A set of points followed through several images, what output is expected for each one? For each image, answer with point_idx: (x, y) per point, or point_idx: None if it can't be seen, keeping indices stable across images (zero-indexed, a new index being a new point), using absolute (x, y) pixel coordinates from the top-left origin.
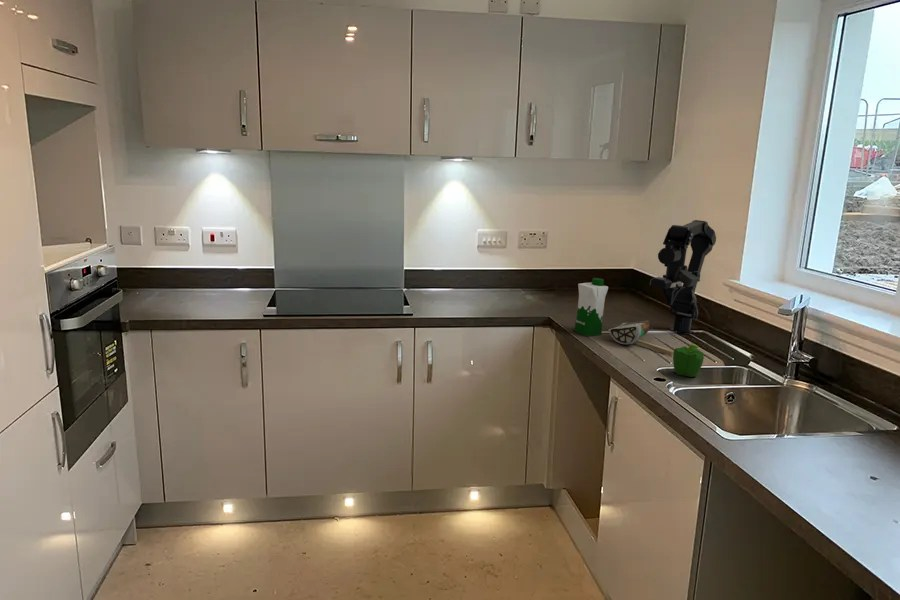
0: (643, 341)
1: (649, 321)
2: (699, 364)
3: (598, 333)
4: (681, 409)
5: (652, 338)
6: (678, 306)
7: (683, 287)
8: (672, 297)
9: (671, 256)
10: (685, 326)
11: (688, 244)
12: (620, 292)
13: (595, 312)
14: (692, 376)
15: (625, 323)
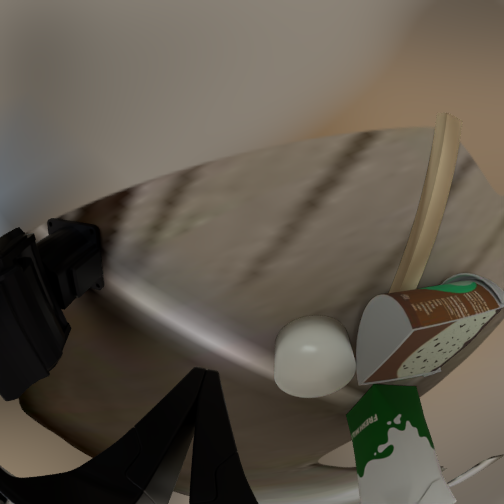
0: (415, 265)
1: (411, 324)
2: None
3: (386, 387)
4: None
5: (271, 282)
6: (44, 329)
7: (18, 502)
8: (212, 441)
9: None
10: (67, 244)
11: None
12: (41, 417)
13: (429, 439)
14: None
15: (304, 393)
